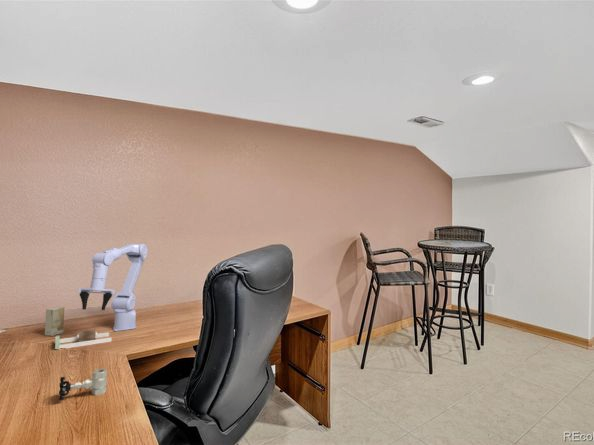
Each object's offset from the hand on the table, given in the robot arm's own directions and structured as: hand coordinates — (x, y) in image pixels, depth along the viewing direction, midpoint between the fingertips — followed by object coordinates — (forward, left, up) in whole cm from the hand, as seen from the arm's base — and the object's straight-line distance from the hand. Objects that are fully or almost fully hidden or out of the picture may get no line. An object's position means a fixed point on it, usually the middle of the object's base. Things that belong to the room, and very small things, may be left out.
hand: (93, 309), depth 151 cm
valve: (+6, +55, -14) cm, 57 cm away
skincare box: (+14, -22, -14) cm, 30 cm away
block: (+2, -1, -14) cm, 14 cm away
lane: (+3, -3, -14) cm, 15 cm away
